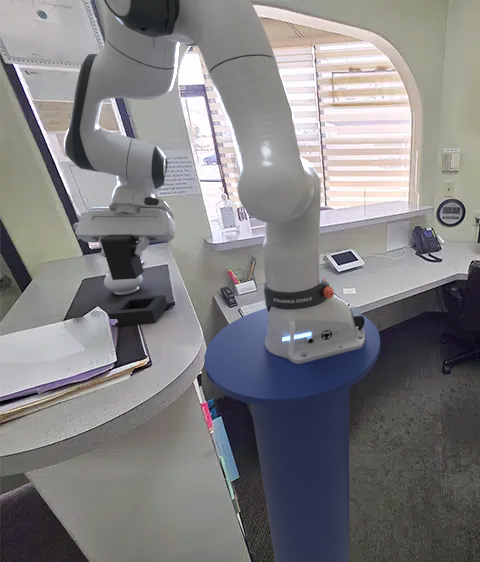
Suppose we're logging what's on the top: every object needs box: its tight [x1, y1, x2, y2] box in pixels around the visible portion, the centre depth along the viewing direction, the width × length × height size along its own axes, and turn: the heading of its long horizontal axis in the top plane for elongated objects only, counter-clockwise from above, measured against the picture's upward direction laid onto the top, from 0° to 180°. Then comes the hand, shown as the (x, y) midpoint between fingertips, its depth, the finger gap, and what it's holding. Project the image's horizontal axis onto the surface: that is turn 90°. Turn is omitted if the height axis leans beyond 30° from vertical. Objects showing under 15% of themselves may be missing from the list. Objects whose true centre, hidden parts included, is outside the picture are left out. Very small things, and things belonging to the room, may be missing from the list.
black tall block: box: [100, 235, 145, 280], centre depth 74 cm, size 5×5×10 cm
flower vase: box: [72, 208, 144, 296], centre depth 90 cm, size 13×18×25 cm
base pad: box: [106, 294, 168, 327], centre depth 80 cm, size 9×9×4 cm
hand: (121, 255), depth 74 cm, fingers closed on black tall block, 5 cm apart
